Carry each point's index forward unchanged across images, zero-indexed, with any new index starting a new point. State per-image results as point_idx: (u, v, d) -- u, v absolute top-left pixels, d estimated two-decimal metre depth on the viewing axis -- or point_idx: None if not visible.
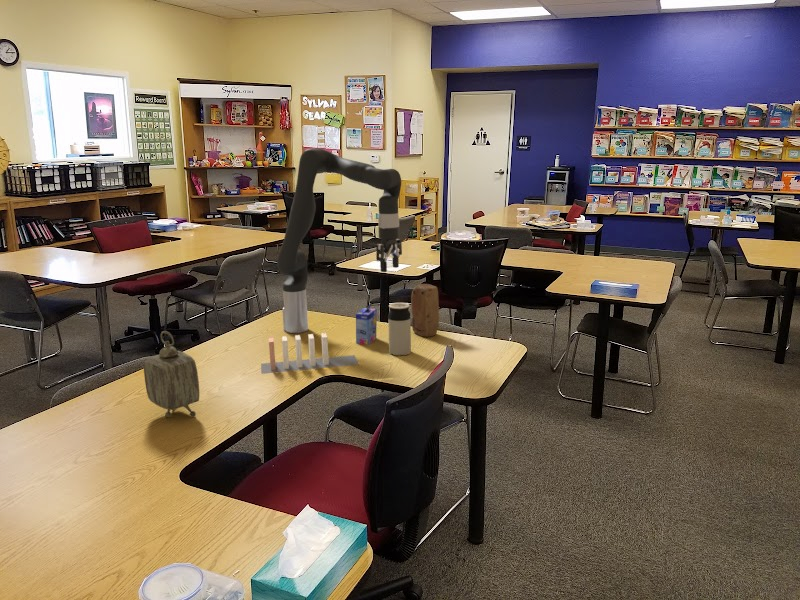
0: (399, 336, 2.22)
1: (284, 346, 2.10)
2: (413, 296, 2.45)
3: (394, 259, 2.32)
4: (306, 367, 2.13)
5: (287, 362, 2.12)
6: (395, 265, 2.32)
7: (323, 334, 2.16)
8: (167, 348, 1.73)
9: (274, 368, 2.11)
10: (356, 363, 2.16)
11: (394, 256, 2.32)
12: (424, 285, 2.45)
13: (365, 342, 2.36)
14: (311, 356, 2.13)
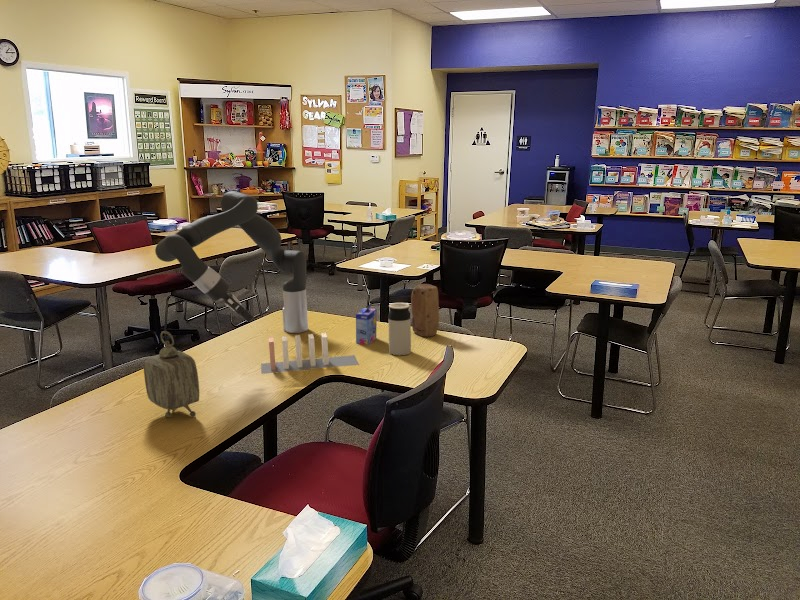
0: (399, 336, 2.22)
1: (284, 346, 2.10)
2: (413, 296, 2.45)
3: None
4: (306, 367, 2.13)
5: (287, 362, 2.12)
6: None
7: (323, 334, 2.16)
8: (167, 348, 1.73)
9: (274, 368, 2.11)
10: (356, 363, 2.16)
11: None
12: (424, 285, 2.45)
13: (365, 342, 2.36)
14: (311, 356, 2.13)
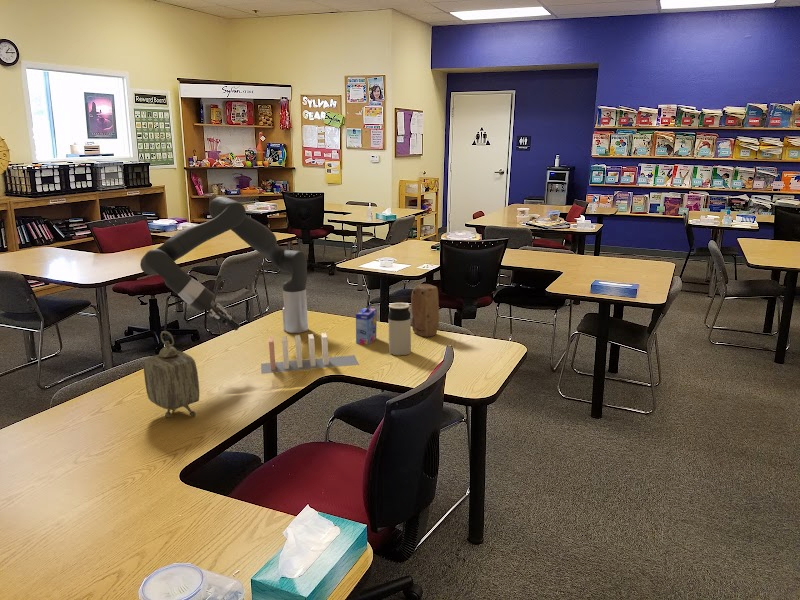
0: (399, 336, 2.22)
1: (284, 346, 2.10)
2: (413, 296, 2.45)
3: None
4: (306, 367, 2.13)
5: (287, 362, 2.12)
6: None
7: (323, 334, 2.16)
8: (167, 348, 1.73)
9: (274, 368, 2.11)
10: (356, 363, 2.16)
11: None
12: (424, 285, 2.45)
13: (365, 342, 2.36)
14: (311, 356, 2.13)
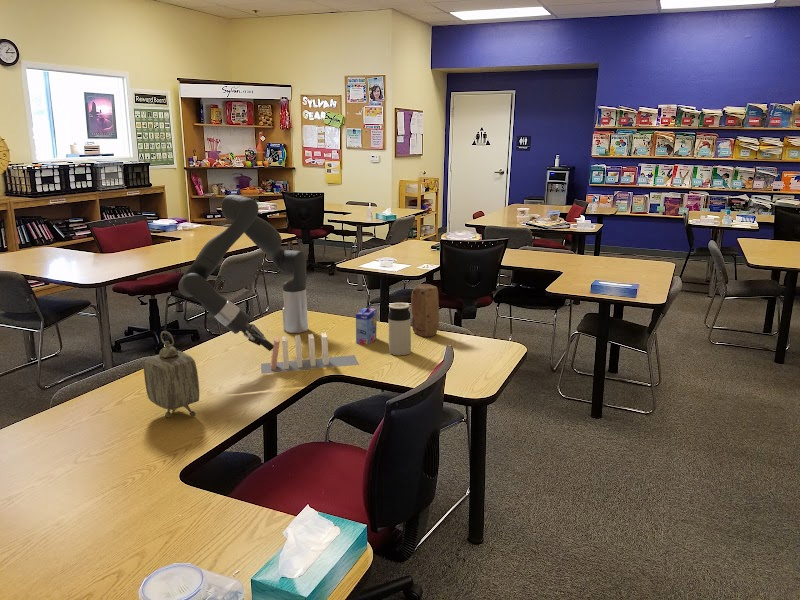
0: (399, 336, 2.22)
1: (284, 346, 2.10)
2: (413, 296, 2.45)
3: None
4: (306, 367, 2.13)
5: (287, 362, 2.12)
6: None
7: (323, 334, 2.16)
8: (167, 348, 1.73)
9: (274, 368, 2.11)
10: (356, 363, 2.16)
11: None
12: (424, 285, 2.45)
13: (365, 342, 2.36)
14: (311, 356, 2.13)
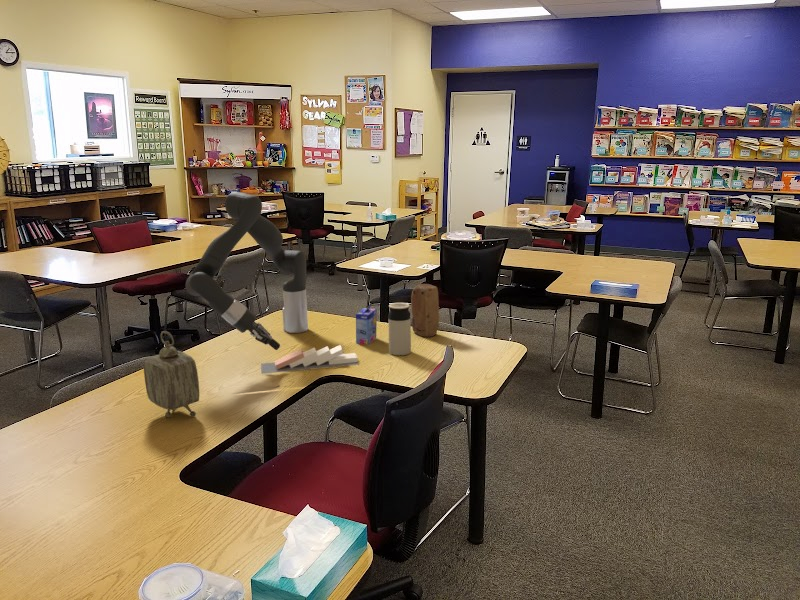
0: (399, 336, 2.22)
1: (311, 355, 2.13)
2: (413, 296, 2.45)
3: None
4: (306, 367, 2.13)
5: (296, 364, 2.13)
6: None
7: None
8: (167, 348, 1.73)
9: (278, 367, 2.12)
10: (356, 363, 2.16)
11: None
12: (424, 285, 2.45)
13: (365, 342, 2.36)
14: (325, 358, 2.15)
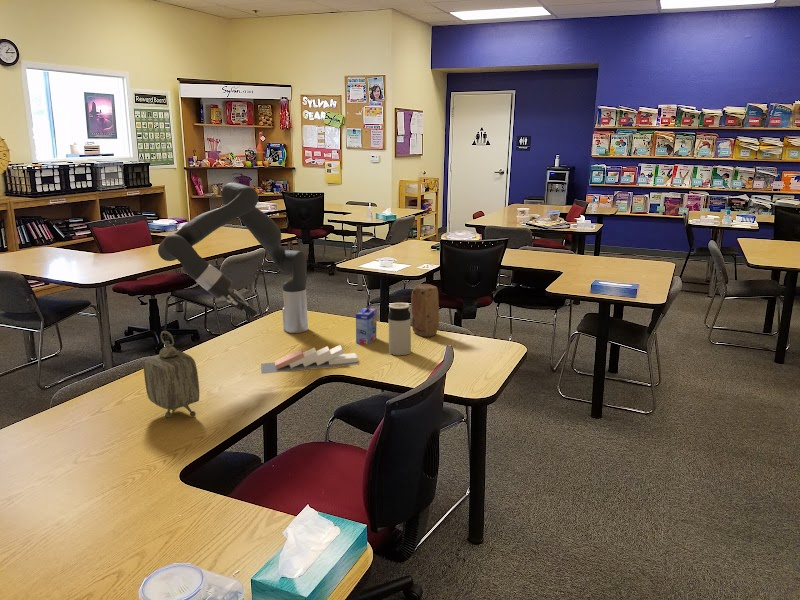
0: (399, 336, 2.22)
1: (311, 355, 2.13)
2: (413, 296, 2.45)
3: None
4: (306, 367, 2.13)
5: (296, 364, 2.13)
6: None
7: None
8: (167, 348, 1.73)
9: (278, 367, 2.12)
10: (356, 363, 2.16)
11: None
12: (424, 285, 2.45)
13: (365, 342, 2.36)
14: (325, 358, 2.15)
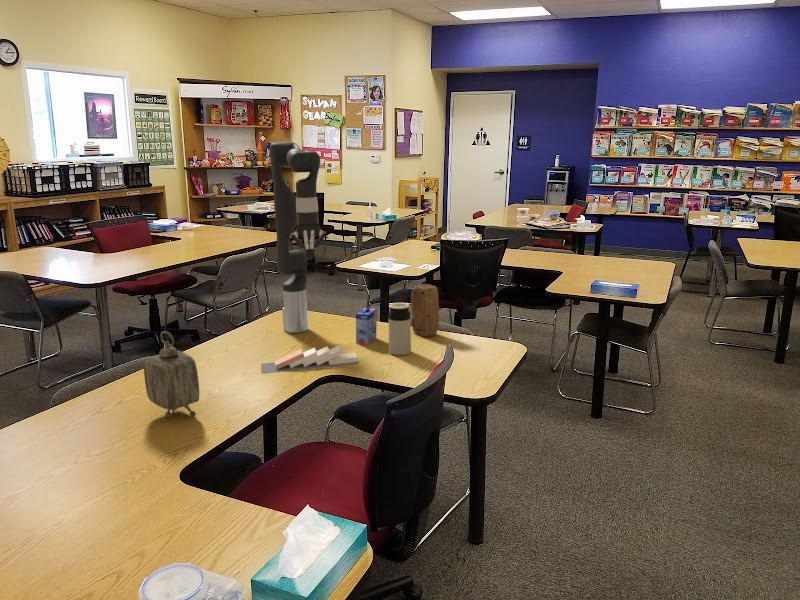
0: (399, 336, 2.22)
1: (311, 355, 2.13)
2: (413, 296, 2.45)
3: None
4: (306, 367, 2.13)
5: (296, 364, 2.13)
6: None
7: None
8: (167, 348, 1.73)
9: (278, 367, 2.12)
10: (356, 363, 2.16)
11: None
12: (424, 285, 2.45)
13: (365, 342, 2.36)
14: (325, 358, 2.15)
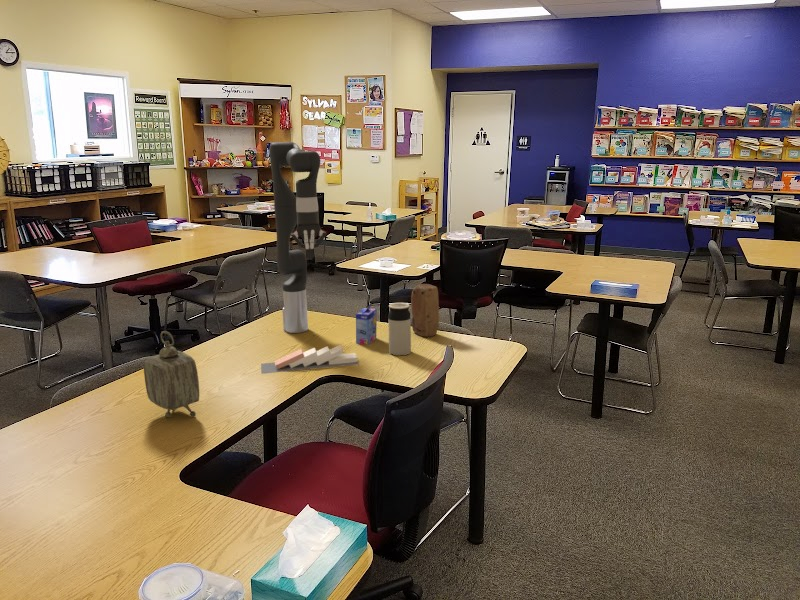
0: (399, 336, 2.22)
1: (311, 355, 2.13)
2: (413, 296, 2.45)
3: None
4: (306, 367, 2.13)
5: (296, 364, 2.13)
6: None
7: None
8: (167, 348, 1.73)
9: (278, 367, 2.12)
10: (356, 363, 2.16)
11: (310, 247, 2.20)
12: (424, 285, 2.45)
13: (365, 342, 2.36)
14: (325, 358, 2.15)
